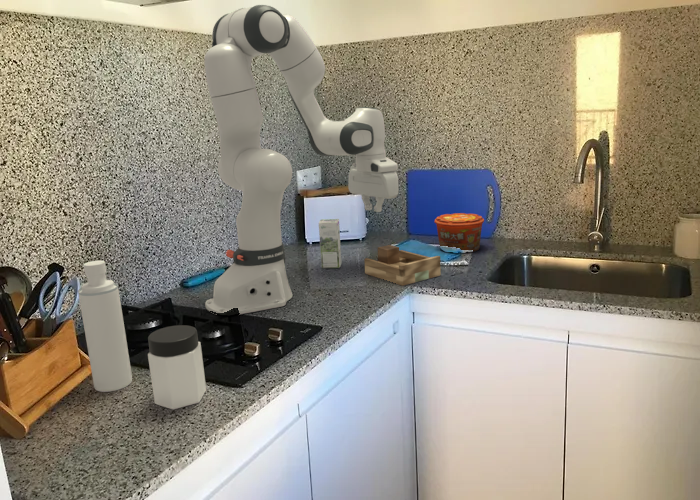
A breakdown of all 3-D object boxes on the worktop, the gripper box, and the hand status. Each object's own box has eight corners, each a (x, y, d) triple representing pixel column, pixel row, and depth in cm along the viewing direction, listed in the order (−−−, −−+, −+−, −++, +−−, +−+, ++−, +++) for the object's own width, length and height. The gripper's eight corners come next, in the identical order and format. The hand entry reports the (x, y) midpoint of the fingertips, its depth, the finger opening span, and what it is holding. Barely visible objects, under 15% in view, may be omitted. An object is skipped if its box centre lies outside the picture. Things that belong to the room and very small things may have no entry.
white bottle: (135, 374, 116) (116, 248, 110) (128, 389, 109) (107, 257, 103) (99, 378, 115) (78, 251, 109) (90, 394, 109) (67, 260, 103)
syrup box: (341, 263, 188) (339, 218, 184) (339, 268, 182) (336, 221, 179) (323, 264, 188) (320, 218, 185) (321, 269, 183) (318, 222, 179)
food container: (464, 257, 187) (464, 223, 184) (425, 250, 198) (424, 218, 196) (494, 247, 197) (494, 215, 195) (455, 241, 209) (454, 210, 206)
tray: (402, 285, 162) (401, 266, 160) (365, 273, 175) (364, 255, 174) (440, 275, 169) (440, 256, 168) (402, 264, 183) (401, 246, 182)
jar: (200, 382, 111) (192, 321, 108) (212, 399, 104) (204, 334, 101) (150, 395, 107) (141, 331, 104) (159, 414, 100) (150, 347, 97)
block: (387, 265, 174) (387, 250, 172) (378, 262, 177) (377, 247, 176) (399, 262, 176) (399, 247, 175) (390, 259, 180) (389, 244, 179)
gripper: (342, 163, 182) (344, 208, 185) (383, 166, 165) (385, 216, 169) (359, 161, 185) (361, 205, 188) (401, 164, 169) (403, 213, 172)
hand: (373, 210), depth 178 cm, fingers open, 3 cm apart
